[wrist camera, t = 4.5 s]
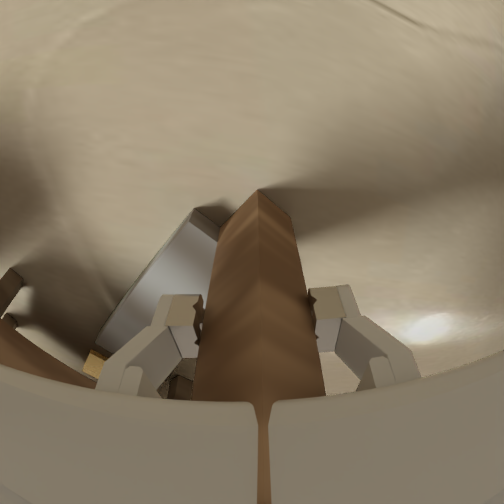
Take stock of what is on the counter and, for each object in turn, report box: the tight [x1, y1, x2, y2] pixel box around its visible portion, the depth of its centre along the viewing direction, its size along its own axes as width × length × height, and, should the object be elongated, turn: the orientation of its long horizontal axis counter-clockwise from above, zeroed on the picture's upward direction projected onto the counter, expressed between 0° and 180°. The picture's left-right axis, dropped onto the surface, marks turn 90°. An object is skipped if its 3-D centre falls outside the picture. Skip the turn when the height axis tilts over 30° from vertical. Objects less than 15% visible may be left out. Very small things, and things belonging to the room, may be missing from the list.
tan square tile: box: [82, 349, 109, 379], centre depth 25 cm, size 5×5×1 cm
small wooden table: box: [0, 268, 193, 401], centre depth 20 cm, size 10×20×10 cm, turn 48°
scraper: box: [95, 190, 326, 504], centre depth 13 cm, size 18×6×14 cm, turn 138°
